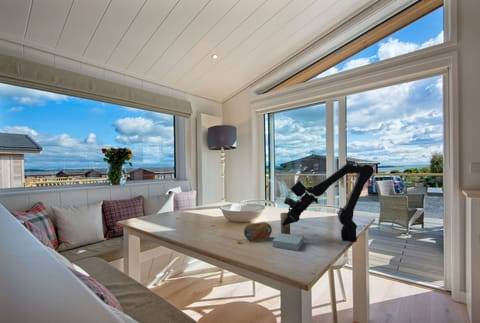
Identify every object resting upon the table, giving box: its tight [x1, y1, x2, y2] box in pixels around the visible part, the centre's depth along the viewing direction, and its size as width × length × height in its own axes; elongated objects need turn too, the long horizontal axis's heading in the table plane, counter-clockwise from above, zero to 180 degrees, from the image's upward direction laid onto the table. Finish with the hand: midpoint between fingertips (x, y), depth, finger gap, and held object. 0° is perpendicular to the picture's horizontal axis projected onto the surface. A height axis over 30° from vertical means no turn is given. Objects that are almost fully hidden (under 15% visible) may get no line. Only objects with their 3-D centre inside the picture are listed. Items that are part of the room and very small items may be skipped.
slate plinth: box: [272, 232, 305, 251], centre depth 113 cm, size 12×12×3 cm
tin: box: [243, 221, 273, 241], centre depth 122 cm, size 15×3×8 cm, turn 105°
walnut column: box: [280, 212, 291, 234], centre depth 125 cm, size 5×5×12 cm
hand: (283, 222), depth 126 cm, fingers open, 9 cm apart
